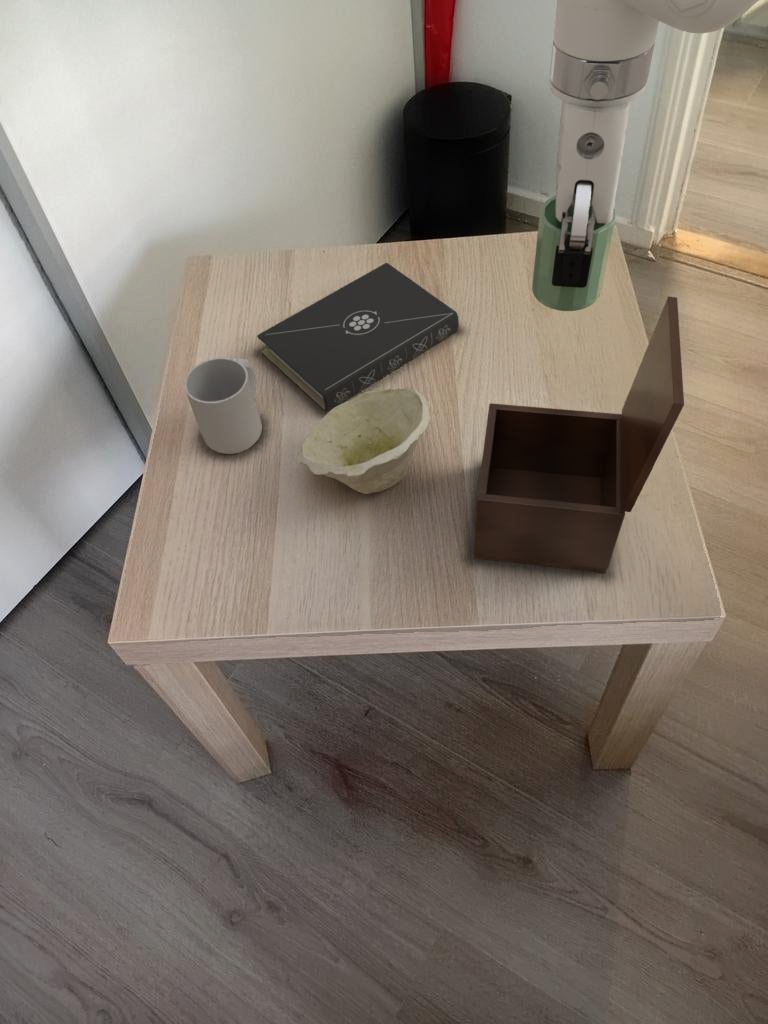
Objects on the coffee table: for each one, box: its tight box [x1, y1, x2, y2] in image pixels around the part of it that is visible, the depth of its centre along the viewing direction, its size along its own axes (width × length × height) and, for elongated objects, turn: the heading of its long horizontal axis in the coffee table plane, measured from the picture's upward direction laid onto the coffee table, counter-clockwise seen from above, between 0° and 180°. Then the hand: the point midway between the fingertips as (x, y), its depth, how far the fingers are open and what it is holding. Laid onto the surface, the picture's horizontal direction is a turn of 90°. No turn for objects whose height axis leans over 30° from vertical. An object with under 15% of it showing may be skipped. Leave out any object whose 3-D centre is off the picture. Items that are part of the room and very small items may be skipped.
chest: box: [473, 402, 626, 574], centre depth 80 cm, size 14×13×10 cm
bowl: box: [297, 387, 432, 495], centre depth 86 cm, size 15×14×10 cm
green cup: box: [531, 195, 616, 312], centre depth 74 cm, size 7×7×8 cm
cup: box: [183, 357, 263, 455], centre depth 92 cm, size 7×10×9 cm
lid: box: [621, 295, 685, 513], centre depth 69 cm, size 14×13×1 cm
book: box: [256, 262, 460, 413], centre depth 101 cm, size 22×15×3 cm
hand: (571, 258), depth 75 cm, fingers closed on green cup, 6 cm apart
